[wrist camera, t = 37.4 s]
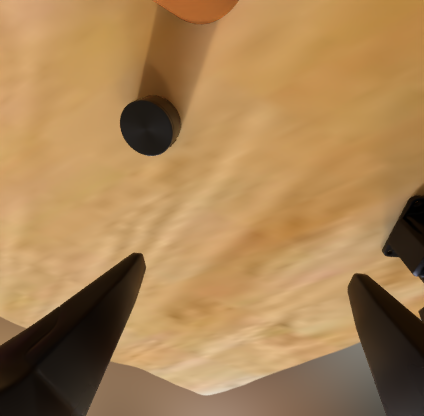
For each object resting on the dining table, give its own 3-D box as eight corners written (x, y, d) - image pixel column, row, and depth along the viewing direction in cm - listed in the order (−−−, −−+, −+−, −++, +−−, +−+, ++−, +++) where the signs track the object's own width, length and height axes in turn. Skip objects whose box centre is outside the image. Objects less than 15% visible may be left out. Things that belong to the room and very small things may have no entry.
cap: (191, 121, 18) (184, 128, 16) (164, 155, 19) (154, 166, 17) (149, 83, 17) (136, 86, 15) (125, 123, 18) (110, 131, 16)
